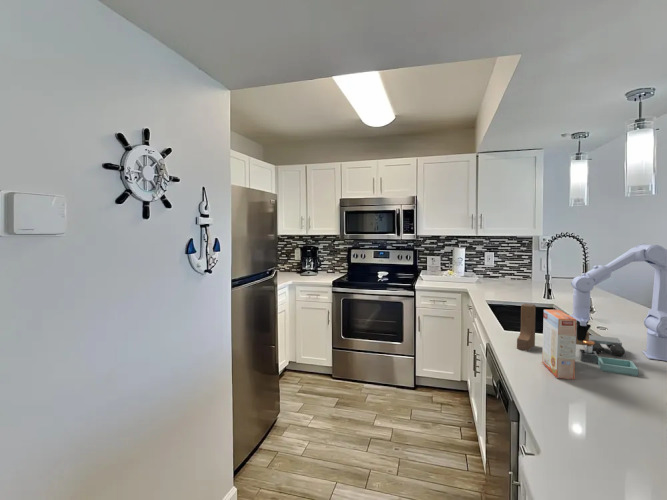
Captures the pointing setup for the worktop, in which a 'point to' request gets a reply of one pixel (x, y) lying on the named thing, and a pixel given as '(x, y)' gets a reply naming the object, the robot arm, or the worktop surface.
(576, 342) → the block
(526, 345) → the wooden block
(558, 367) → the cracker box
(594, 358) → the bracket
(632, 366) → the tray
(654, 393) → the worktop surface
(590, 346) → the pin
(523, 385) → the worktop surface
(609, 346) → the trolley
